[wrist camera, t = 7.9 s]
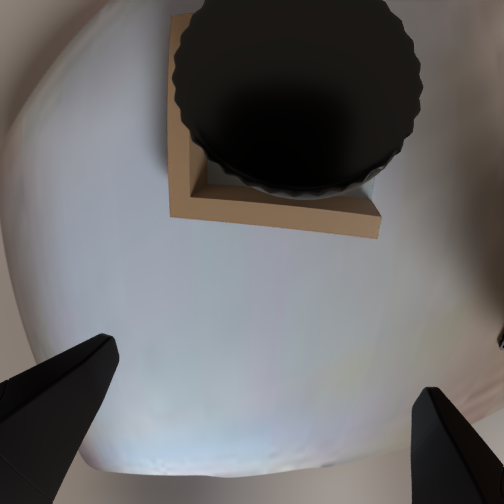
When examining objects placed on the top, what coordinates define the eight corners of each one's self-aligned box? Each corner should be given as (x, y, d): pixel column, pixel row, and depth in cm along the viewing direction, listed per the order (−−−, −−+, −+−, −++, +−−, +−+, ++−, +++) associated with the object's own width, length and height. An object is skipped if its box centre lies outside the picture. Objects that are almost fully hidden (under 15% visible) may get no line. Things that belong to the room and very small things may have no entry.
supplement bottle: (372, 157, 16) (468, 246, 5) (252, 167, 18) (159, 264, 7) (357, 39, 13) (429, -66, 3) (233, 52, 15) (109, -21, 4)
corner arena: (366, 216, 18) (377, 239, 15) (192, 199, 20) (170, 217, 17) (383, 38, 13) (399, 24, 10) (194, 29, 15) (171, 15, 12)
